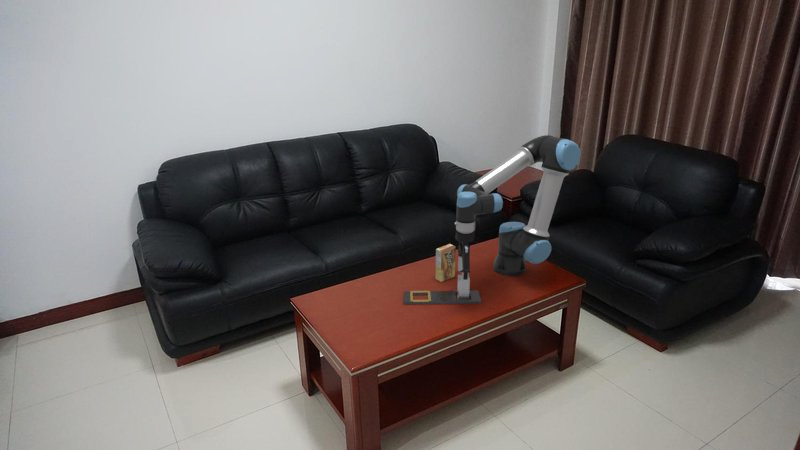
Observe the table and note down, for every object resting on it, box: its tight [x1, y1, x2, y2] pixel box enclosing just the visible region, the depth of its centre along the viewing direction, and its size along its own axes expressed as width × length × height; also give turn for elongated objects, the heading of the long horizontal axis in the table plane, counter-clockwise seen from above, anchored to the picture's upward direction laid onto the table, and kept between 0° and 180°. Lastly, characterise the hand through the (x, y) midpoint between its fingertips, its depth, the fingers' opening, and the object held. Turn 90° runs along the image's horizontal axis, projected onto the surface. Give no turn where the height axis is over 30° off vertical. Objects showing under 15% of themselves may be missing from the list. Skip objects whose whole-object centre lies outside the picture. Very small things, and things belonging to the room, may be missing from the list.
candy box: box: [434, 243, 457, 282], centre depth 223 cm, size 9×4×15 cm, turn 129°
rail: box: [403, 290, 482, 305], centre depth 208 cm, size 32×9×1 cm, turn 90°
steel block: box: [456, 274, 471, 300], centre depth 206 cm, size 4×4×10 cm
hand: (462, 278), depth 205 cm, fingers open, 13 cm apart
